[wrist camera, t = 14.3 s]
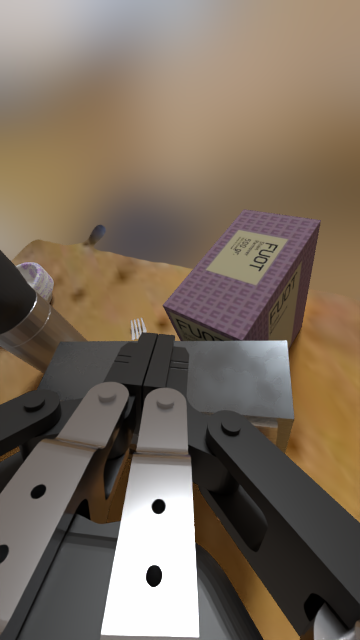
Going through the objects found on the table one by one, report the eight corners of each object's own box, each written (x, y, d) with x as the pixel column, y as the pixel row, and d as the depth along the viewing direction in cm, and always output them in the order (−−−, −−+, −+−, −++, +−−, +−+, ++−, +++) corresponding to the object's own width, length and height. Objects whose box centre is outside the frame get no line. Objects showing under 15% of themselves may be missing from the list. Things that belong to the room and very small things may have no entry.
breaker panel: (121, 461, 38) (19, 425, 22) (135, 404, 42) (60, 341, 27) (283, 487, 31) (297, 460, 16) (278, 415, 36) (287, 340, 20)
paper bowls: (-3, 319, 67) (-30, 299, 61) (40, 278, 73) (19, 256, 67) (28, 338, 59) (0, 318, 53) (73, 290, 65) (53, 267, 59)
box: (253, 413, 37) (242, 340, 21) (201, 382, 42) (162, 305, 26) (301, 326, 43) (320, 220, 27) (251, 308, 48) (244, 209, 32)
